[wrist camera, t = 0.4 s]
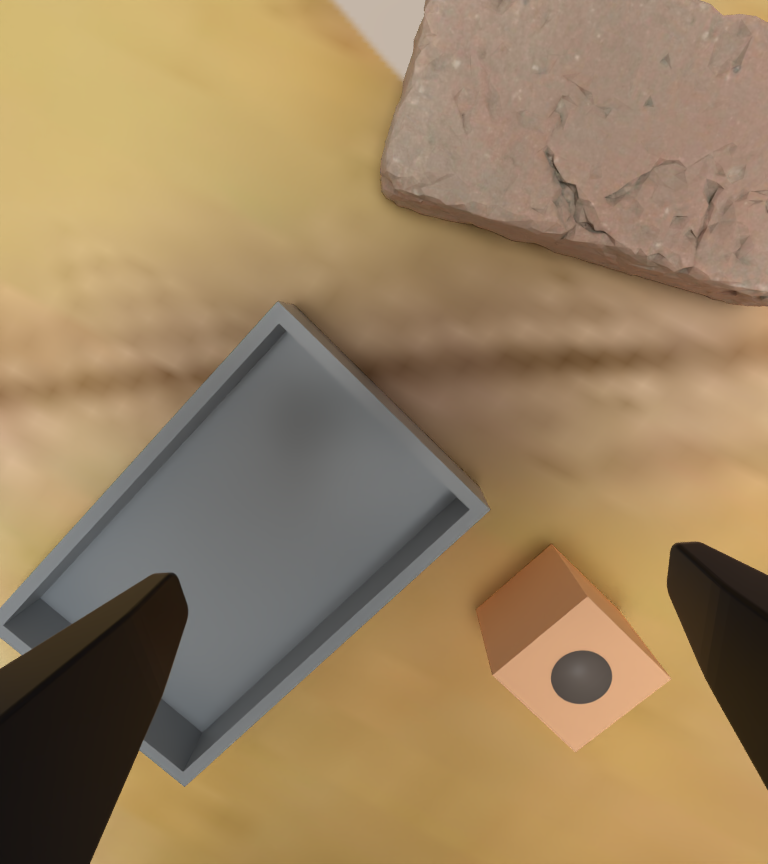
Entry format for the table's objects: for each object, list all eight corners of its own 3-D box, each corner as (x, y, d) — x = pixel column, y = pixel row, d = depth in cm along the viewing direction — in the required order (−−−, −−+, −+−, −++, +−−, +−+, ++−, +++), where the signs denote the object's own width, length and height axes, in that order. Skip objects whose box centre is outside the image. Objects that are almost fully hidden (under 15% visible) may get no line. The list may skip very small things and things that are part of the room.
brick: (375, 207, 22) (369, 176, 17) (432, -9, 20) (442, -107, 16) (735, 315, 22) (821, 312, 18) (820, 112, 21) (940, 51, 16)
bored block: (543, 672, 26) (575, 753, 21) (475, 608, 25) (492, 676, 20) (619, 610, 25) (671, 679, 20) (551, 543, 25) (588, 597, 20)
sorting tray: (208, 737, 27) (184, 786, 24) (32, 591, 26) (-16, 625, 23) (479, 487, 24) (490, 509, 21) (294, 304, 23) (277, 301, 20)
